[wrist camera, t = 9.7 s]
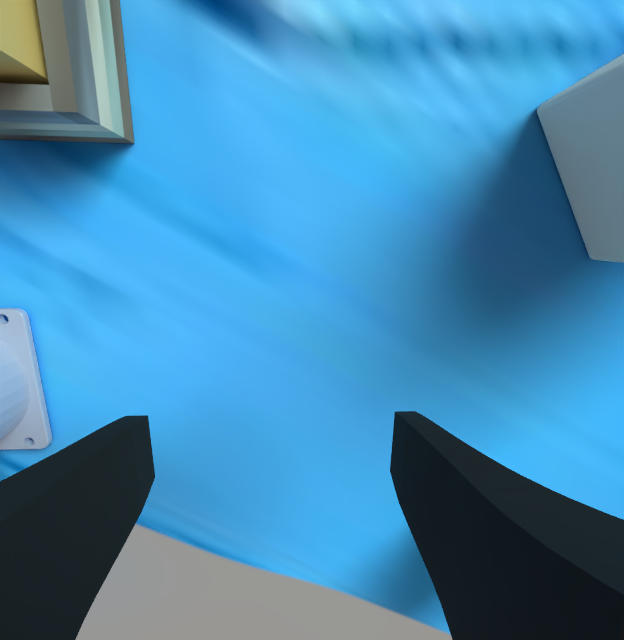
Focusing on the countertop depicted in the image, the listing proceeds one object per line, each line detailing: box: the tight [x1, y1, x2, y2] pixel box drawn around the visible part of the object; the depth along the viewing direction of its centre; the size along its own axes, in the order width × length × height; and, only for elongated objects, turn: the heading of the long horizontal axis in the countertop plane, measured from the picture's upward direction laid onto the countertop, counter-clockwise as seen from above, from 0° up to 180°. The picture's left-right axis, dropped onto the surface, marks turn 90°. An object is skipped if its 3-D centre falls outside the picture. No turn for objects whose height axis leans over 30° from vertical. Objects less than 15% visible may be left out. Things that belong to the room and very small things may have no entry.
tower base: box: [0, 0, 134, 143], centre depth 13 cm, size 6×6×4 cm
